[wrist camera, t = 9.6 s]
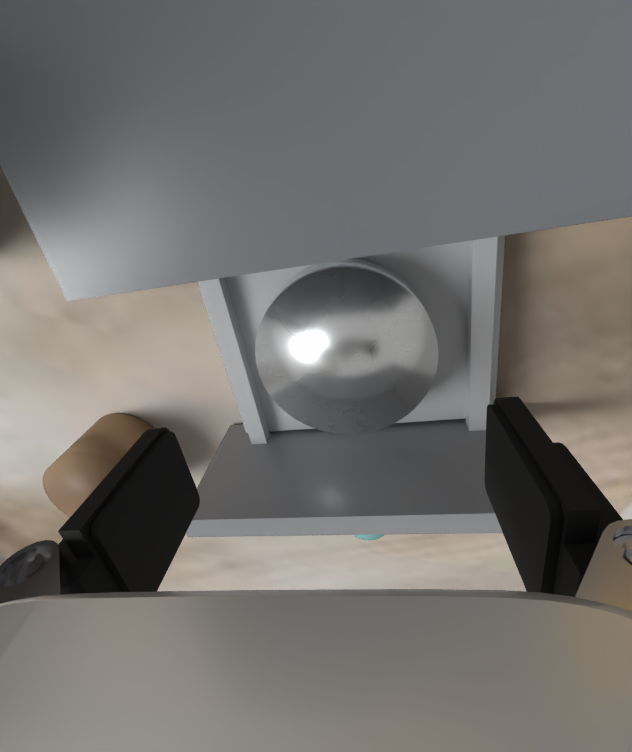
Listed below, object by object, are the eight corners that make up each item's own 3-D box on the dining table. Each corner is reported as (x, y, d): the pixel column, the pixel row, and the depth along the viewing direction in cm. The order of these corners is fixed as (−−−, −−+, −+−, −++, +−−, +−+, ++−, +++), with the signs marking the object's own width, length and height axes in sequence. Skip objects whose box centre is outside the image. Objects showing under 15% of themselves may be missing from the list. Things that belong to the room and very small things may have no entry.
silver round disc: (427, 243, 14) (435, 255, 12) (433, 401, 17) (440, 428, 16) (248, 271, 15) (233, 286, 14) (285, 413, 19) (277, 439, 17)
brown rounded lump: (178, 472, 23) (145, 526, 20) (112, 475, 24) (69, 528, 21) (150, 410, 21) (107, 459, 18) (79, 416, 22) (25, 464, 18)
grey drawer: (512, 447, 19) (571, 561, 14) (242, 461, 22) (199, 561, 16) (550, 30, 12) (715, -91, 6) (130, 131, 14) (-20, 111, 9)
